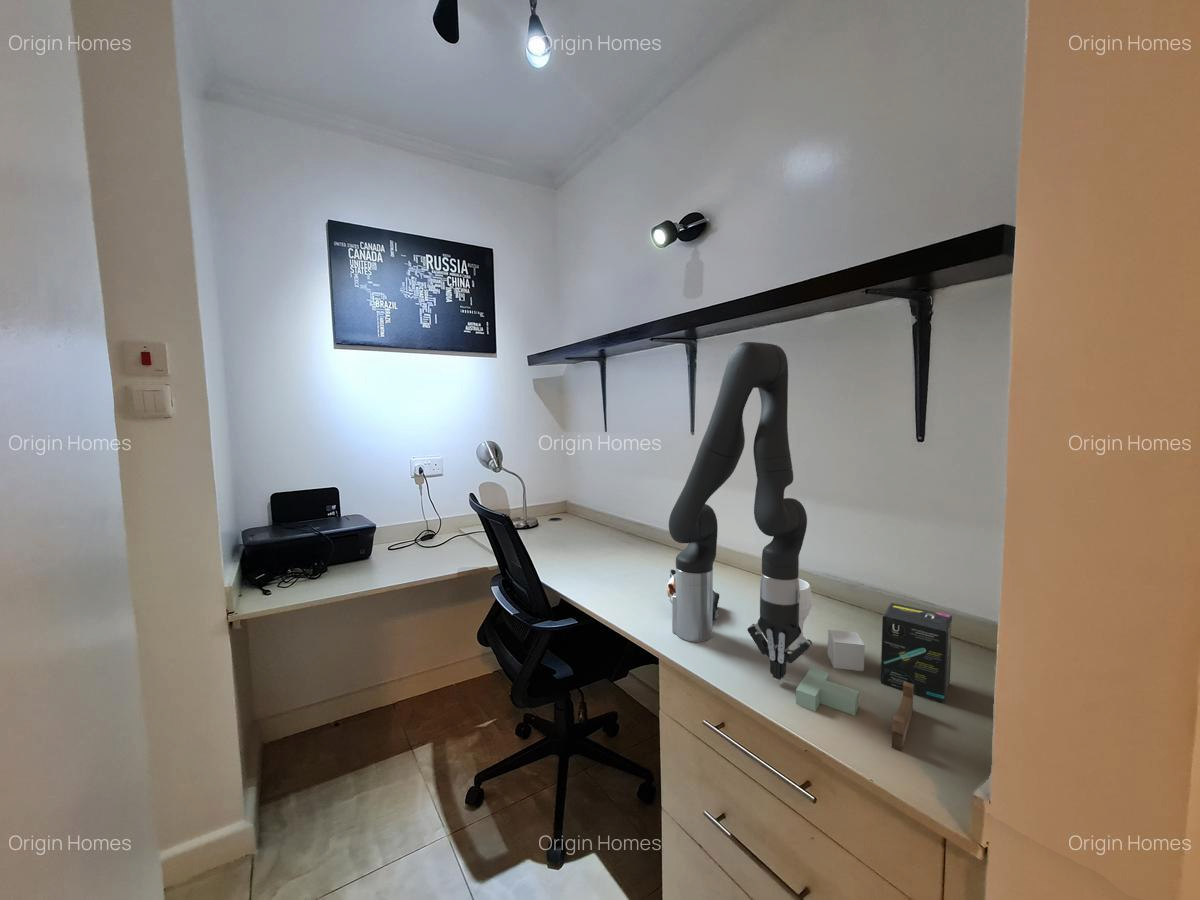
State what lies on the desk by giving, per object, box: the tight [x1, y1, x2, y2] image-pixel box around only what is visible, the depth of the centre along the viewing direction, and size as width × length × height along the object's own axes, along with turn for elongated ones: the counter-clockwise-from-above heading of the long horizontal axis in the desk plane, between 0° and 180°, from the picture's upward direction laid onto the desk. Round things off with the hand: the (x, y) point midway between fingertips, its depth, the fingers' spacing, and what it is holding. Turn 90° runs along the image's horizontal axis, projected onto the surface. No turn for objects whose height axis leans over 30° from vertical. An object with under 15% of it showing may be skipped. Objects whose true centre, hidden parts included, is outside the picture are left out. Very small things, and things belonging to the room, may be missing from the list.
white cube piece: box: [827, 629, 866, 672], centre depth 103 cm, size 6×6×6 cm
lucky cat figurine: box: [666, 569, 720, 621], centre depth 129 cm, size 15×12×14 cm
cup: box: [788, 578, 813, 651], centre depth 112 cm, size 11×11×15 cm
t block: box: [795, 667, 860, 716], centre depth 89 cm, size 10×10×3 cm
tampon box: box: [880, 602, 953, 703], centre depth 95 cm, size 11×9×15 cm
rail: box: [891, 681, 914, 752], centre depth 82 cm, size 2×14×5 cm, turn 140°
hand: (778, 677), depth 96 cm, fingers closed
